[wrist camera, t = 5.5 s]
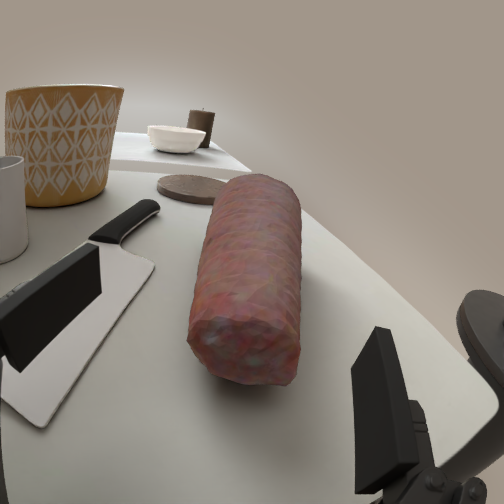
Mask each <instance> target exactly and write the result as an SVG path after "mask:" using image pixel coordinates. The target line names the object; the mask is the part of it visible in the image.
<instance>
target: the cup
mask: <svg viewBox="0 0 504 504" xmlns="http://www.w3.org/2000/svg"><path fill="white" fill-rule="evenodd" d="M28 241H29V239H28V228H27V218H26V205H25V184H24V158H23V157H20V156H3V157H0V264H1V263H5V262H8V261H10V260H13V259H14V258H16V257H18V256H19V255H20V254H21V253H23V252H24V250H25V249H26V247H27V244H28Z"/></svg>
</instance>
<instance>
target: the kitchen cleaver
mask: <svg viewBox="0 0 504 504" xmlns="http://www.w3.org/2000/svg"><path fill="white" fill-rule="evenodd" d="M159 211H160V206H159V204H158V203H157V202H156V201H154V200H151V199H144V200H141V201H139V202H138V203H136V204H135V205H134V206H132V207H131V208H129V209H128V210H126V211H125V212H123V213H122V214H120V215H119V216H117V217H116V218H114V219H113V220H111V221H110V222H108V223H107V224H105V225H104V226H103V227H101V228H100V229H98V230H97V231H96V232H94V233H93V234H92V235H91V236H89V238H88V240H86V241H85V242H83V243H82V244H81V245H79V246H78V247H76V248H75V249H73V250H72V251H71V252H69V253H68V254H67V255H69V254H70V253H72V252H73V251H75V250H76V249H78V248H79V247H81V246H83V245H84V244H86V243H87V242H88V243H91V244H94V245H97V246H99V254H100V273H101V286H102V294H100V295H99V296H98V297H97V298H96V299H95V300H94V301H93V302H92V303H91V304H90V305H88V306H87V307H86V308H85V309H84V310H83V311H82V312H81V313H80V314H79V315H78V316H77V317H76V318H75V319H74V320H73V321H72V322H71V323H70V324H68V325H67V326H66V327H65V328H64V329H63V330H62V331H61V332H60V333H59V334H58V335H57V336H56V337H55V338H54V339H53V340H52V341H51V342H50V343H49V344H48V345H47V346H46V347H45V348H44V349H43V350H42V351H41V352H40V353H39V354H38V355H37V357H36V358H35V359H34V360H33V361H32V362H31V363H30V364H29V365H28V366H27V367H26V368H25V369H24V370H23V371H22V372H21V373H19V372H18V371H17V370H15V369H14V368H13V367H12V366H10V365H9V363H8V361H7V359H6V356H5V355H4V356H3V357H2V358H1V359H2V361H3V371H2V383H1V398H2V399H3V400H4V401H5V402H7V403H8V404H9V405H10V406H11V407H13V408H14V409H15V410H16V411H17V412H18V413H20V414H21V415H22V416H23V417H24V418H26V419H27V420H28V421H29V422H31V423H32V424H33V425H35V426H36V427H38V428H45V427H46V426H47V424H48V423H49V421H50V419H51V418H52V416H53V415H54V413H55V412H56V410H57V409H58V407H59V406H60V404H61V403H62V401H63V400H64V398H65V397H66V395H67V394H68V392H69V391H70V389H71V388H72V386H73V385H74V383H75V382H76V380H77V379H78V377H79V376H80V374H81V373H82V371H83V370H84V368H85V367H86V365H87V363H88V362H89V360H90V359H91V357H92V356H93V354H94V353H95V351H96V350H97V348H98V347H99V346H100V344H101V343H102V341H103V340H104V338H105V337H106V336H107V334H108V333H109V331H110V330H111V328H112V327H113V325H114V324H115V323H116V321H117V320H118V318H119V317H120V315H121V314H122V313H123V311H124V310H125V308H126V307H127V306H128V304H129V303H130V302H131V300H132V299H133V298H134V296H135V295H136V294H137V293H138V291H139V290H140V289H141V287H142V286H143V285H144V283H145V282H146V280H147V279H148V278H149V276H150V275H151V273H152V271H153V269H154V267H155V262H154V261H153V260H150V259H147V258H144V257H141V256H138V255H135V254H132V253H129V252H127V251H125V250H124V249H122V248H121V247H120V244H121V241H122V239H123V238H124V237H125V236H126V235H128V234H129V233H130V232H131V231H132V230H134V229H135V228H136V227H137V226H139V225H140V224H141V223H143V222H144V221H145V220H147V219H148V218H149V217H151V216H152V215H155V214H157V213H159ZM67 255H65V256H64V257H66V256H67ZM64 257H62V258H61V259H63V258H64ZM61 259H60V260H61ZM60 260H58V261H60ZM58 261H57V262H58ZM57 262H55V263H57ZM55 263H54V264H55ZM54 264H53V265H54ZM51 266H52V265H51ZM51 266H50V267H51ZM47 269H48V268H47ZM44 271H45V270H44ZM44 271H43V272H44ZM41 273H42V272H41ZM41 273H40V274H41ZM38 275H39V274H38ZM38 275H37V276H38ZM35 277H36V276H35ZM35 277H34V278H35ZM34 278H32V279H34ZM32 279H31V280H32ZM5 296H6V295H5ZM1 298H2V297H1Z"/></svg>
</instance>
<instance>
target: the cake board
mask: <svg viewBox="0 0 504 504" xmlns="http://www.w3.org/2000/svg"><path fill="white" fill-rule="evenodd" d="M225 184H226V183H225V182H222V181H219V180H216V179H212V178H207V177H202V176H194V175H170V176H165V177H162V178H160V179H159V180H158V184H157V189H158V191H159V192H160V193H161V194H163V195H165V196H167V197H170V198H172V199H176V200H179V201H184V202H189V203H196V204H208V205H214V201H215V198H216V196H217V194H218V192H219V190H220V189H221V188H222V186H223V185H225Z"/></svg>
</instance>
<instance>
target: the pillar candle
mask: <svg viewBox="0 0 504 504" xmlns="http://www.w3.org/2000/svg"><path fill="white" fill-rule="evenodd" d="M214 116H215V113H212V112H206V111H199V110H190V113H189V119H188V124H187V128H189V129H195V130H199V131H203V132H206V134H205V137H204V139H203V142H201V143H200V145H199V147H200V148H208V147H209V144H210V138H211V132H212V127H213V121H214Z"/></svg>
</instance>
